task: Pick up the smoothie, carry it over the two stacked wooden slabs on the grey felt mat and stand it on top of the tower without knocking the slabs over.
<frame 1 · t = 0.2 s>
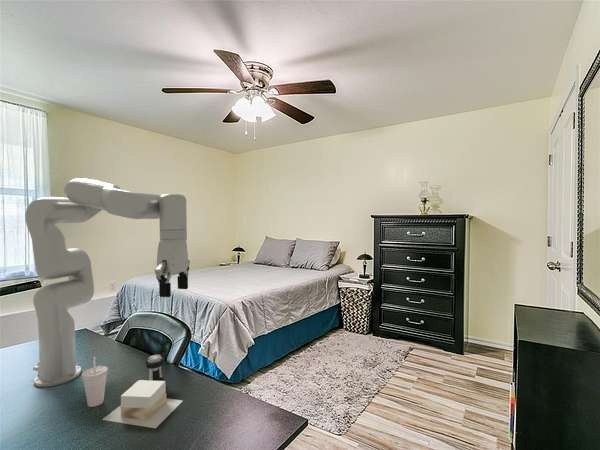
hand: (174, 292, 94), 31 cm above the table, tool pointing down, fingers open, 9 cm apart
bottom slab: (144, 409, 86), resting on felt mat, touching top slab
top slab: (144, 398, 86), point 3 cm above the table, touching bottom slab
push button: (153, 390, 97), on the table
smoothie: (95, 404, 90), on the table
felt mat: (144, 411, 86), on the table
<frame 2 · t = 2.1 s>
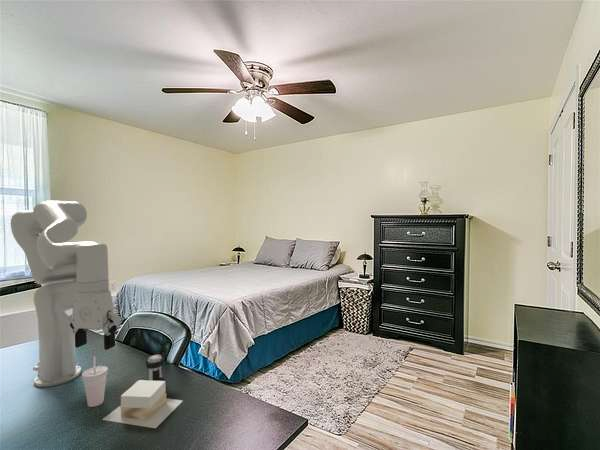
hand: (95, 346, 89), 17 cm above the table, tool pointing down, fingers open, 9 cm apart
nothing on the table moved.
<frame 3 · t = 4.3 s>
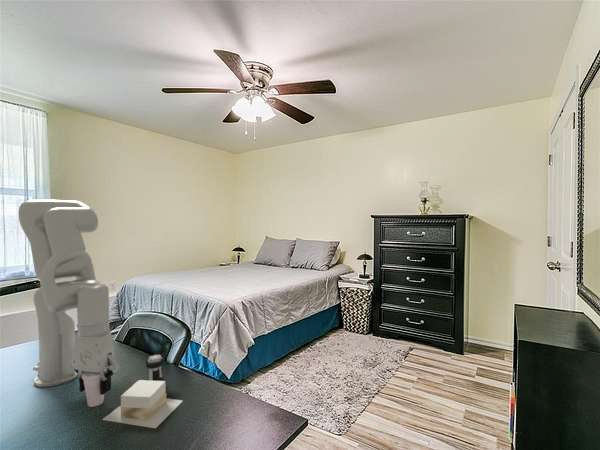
hand: (95, 390, 90), 4 cm above the table, tool pointing down, fingers closed on smoothie, 6 cm apart
smoothie: (95, 404, 90), on the table, touching gripper
everything else where it was.
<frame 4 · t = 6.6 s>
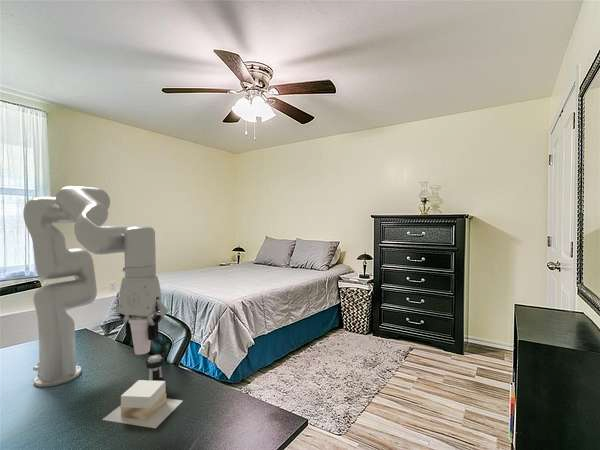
hand: (142, 336, 86), 21 cm above the table, tool pointing down, fingers closed on smoothie, 6 cm apart
smoothie: (142, 352, 86), point 16 cm above the table, touching gripper
everything else where it was.
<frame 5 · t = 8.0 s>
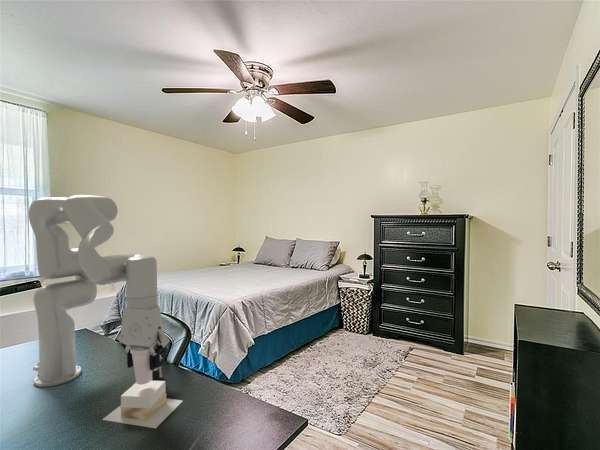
hand: (143, 366, 86), 13 cm above the table, tool pointing down, fingers closed on smoothie, 6 cm apart
smoothie: (143, 381, 86), point 8 cm above the table, touching gripper
everything else where it was.
when the fingers open (11 cm above the table, at t = 9.2 s): smoothie stays where it is, resting on top slab.
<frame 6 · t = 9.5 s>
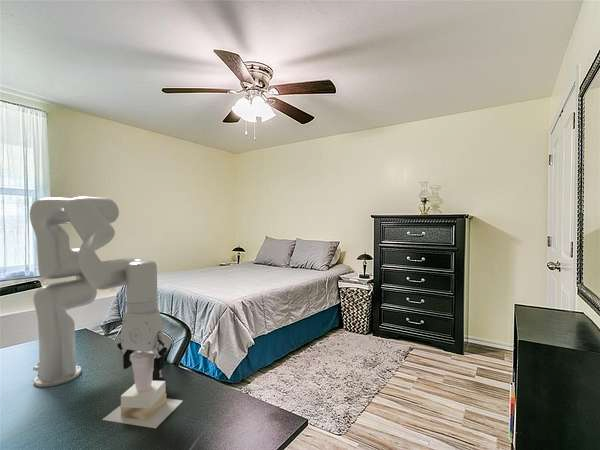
hand: (143, 368, 86), 12 cm above the table, tool pointing down, fingers open, 9 cm apart
top slab: (144, 398, 86), point 3 cm above the table, touching bottom slab, smoothie
smoothie: (143, 388, 86), point 6 cm above the table, touching top slab
everything else where it was.
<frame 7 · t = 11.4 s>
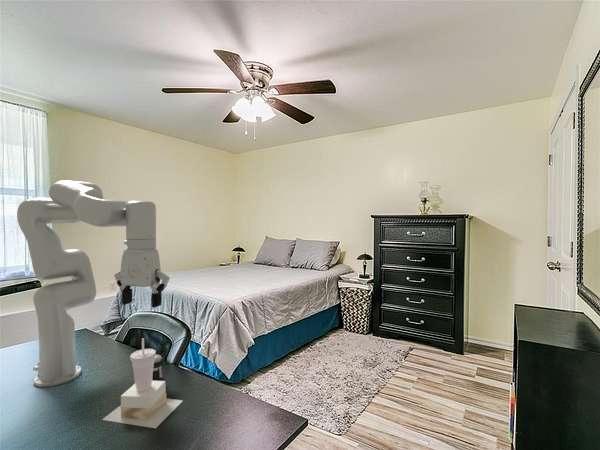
hand: (141, 304, 89), 29 cm above the table, tool pointing down, fingers open, 9 cm apart
nothing on the table moved.
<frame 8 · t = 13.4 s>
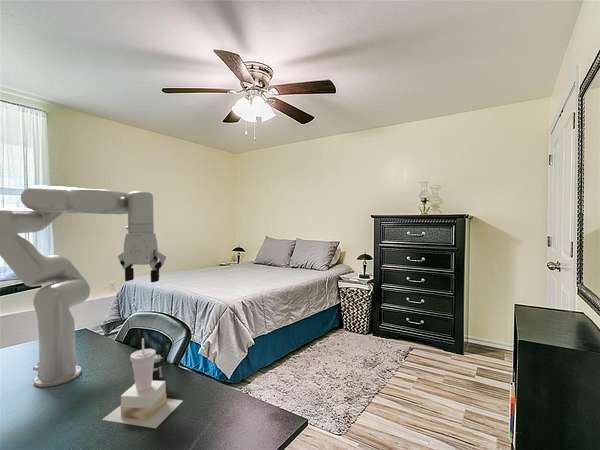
hand: (142, 281, 104), 32 cm above the table, tool pointing down, fingers open, 9 cm apart
nothing on the table moved.
at the end: smoothie 0.1 cm off-centre on the top slab, point 2.8 cm above the top slab's base; smoothie tilted 0°; top slab 0.0 cm off-centre on the bottom slab, point 3.0 cm above the bottom slab's base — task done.
